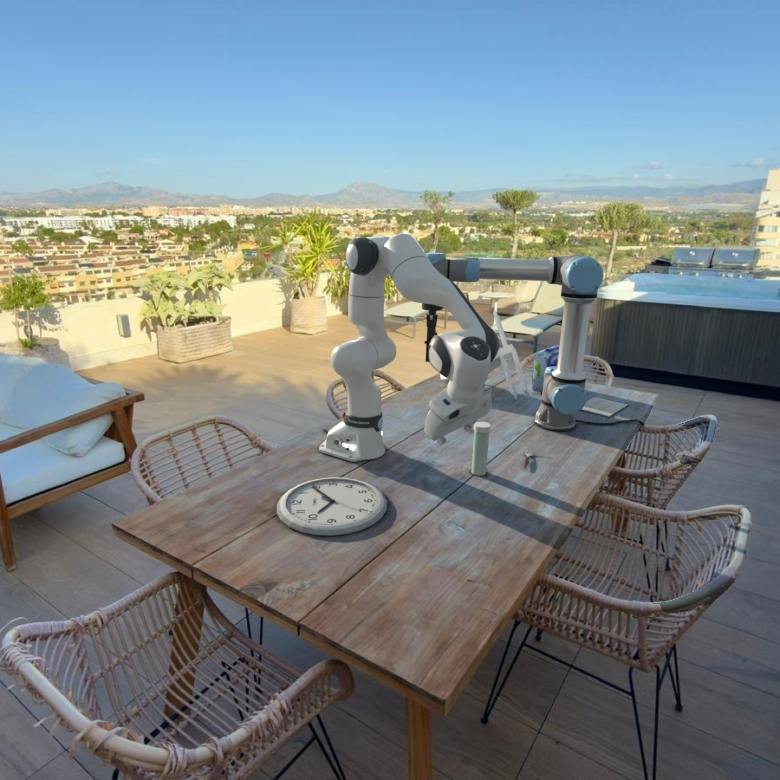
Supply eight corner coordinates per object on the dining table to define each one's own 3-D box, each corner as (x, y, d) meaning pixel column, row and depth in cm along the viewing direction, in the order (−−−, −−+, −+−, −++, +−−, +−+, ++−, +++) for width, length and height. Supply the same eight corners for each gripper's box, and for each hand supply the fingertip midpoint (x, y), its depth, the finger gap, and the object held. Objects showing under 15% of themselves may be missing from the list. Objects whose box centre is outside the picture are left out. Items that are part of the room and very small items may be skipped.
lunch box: (548, 398, 236) (553, 353, 229) (527, 393, 243) (531, 349, 237) (575, 387, 253) (581, 344, 247) (555, 382, 260) (560, 341, 254)
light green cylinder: (472, 475, 161) (476, 428, 157) (470, 469, 166) (473, 423, 161) (487, 475, 161) (491, 428, 157) (484, 469, 166) (488, 423, 161)
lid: (475, 433, 157) (475, 427, 156) (472, 426, 162) (472, 421, 161) (491, 433, 157) (492, 427, 156) (488, 427, 162) (488, 421, 161)
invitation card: (608, 416, 214) (573, 407, 224) (608, 416, 214) (573, 408, 224) (628, 404, 229) (594, 396, 238) (628, 405, 229) (594, 397, 238)
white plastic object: (461, 429, 252) (437, 405, 227) (444, 352, 274) (420, 323, 250) (535, 404, 240) (518, 377, 215) (510, 326, 262) (492, 293, 237)
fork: (520, 469, 166) (521, 463, 165) (526, 450, 180) (526, 444, 180) (528, 470, 165) (529, 464, 164) (533, 451, 179) (534, 445, 179)
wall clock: (392, 527, 129) (268, 531, 127) (391, 533, 130) (269, 537, 127) (383, 473, 158) (282, 475, 155) (383, 478, 158) (282, 480, 156)
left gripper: (484, 376, 137) (474, 415, 146) (424, 403, 127) (417, 443, 136) (501, 390, 133) (490, 428, 142) (441, 419, 123) (433, 458, 132)
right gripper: (424, 293, 195) (422, 349, 202) (419, 302, 172) (417, 365, 178) (444, 294, 195) (441, 350, 201) (442, 303, 171) (439, 366, 177)
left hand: (454, 436), depth 139 cm, fingers open, 8 cm apart
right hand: (430, 357), depth 190 cm, fingers open, 13 cm apart
